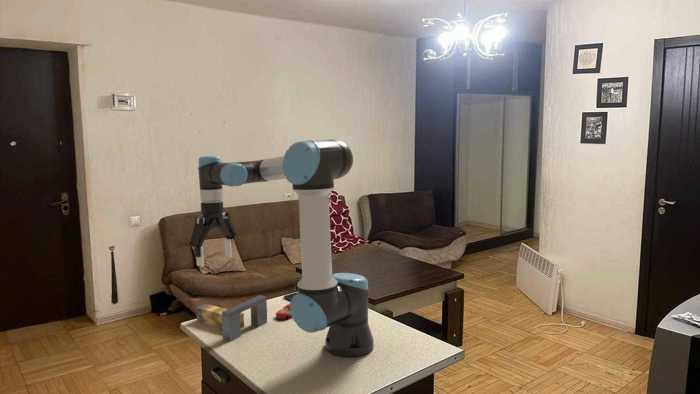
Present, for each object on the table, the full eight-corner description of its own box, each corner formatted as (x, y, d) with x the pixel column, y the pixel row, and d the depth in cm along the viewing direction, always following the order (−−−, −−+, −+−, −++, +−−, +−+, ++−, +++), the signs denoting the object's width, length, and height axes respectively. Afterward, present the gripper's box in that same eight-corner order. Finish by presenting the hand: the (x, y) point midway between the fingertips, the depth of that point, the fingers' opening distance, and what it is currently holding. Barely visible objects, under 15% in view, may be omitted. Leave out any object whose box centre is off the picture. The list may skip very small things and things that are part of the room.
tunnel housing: (267, 322, 183) (266, 296, 181) (229, 341, 167) (228, 313, 165) (260, 320, 184) (259, 295, 183) (223, 339, 168) (221, 311, 167)
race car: (282, 322, 183) (282, 311, 183) (272, 318, 187) (272, 308, 186) (309, 312, 193) (309, 301, 192) (299, 308, 197) (299, 298, 196)
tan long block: (244, 327, 179) (243, 313, 178) (234, 331, 175) (234, 317, 174) (206, 317, 188) (205, 303, 187) (196, 321, 184) (196, 307, 183)
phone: (297, 291, 213) (321, 300, 202) (297, 294, 213) (321, 303, 203) (282, 296, 208) (306, 305, 197) (282, 299, 208) (306, 308, 197)
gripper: (228, 196, 191) (231, 252, 194) (175, 205, 170) (179, 268, 172) (244, 197, 187) (247, 254, 190) (192, 206, 166) (196, 271, 169)
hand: (215, 261), depth 181 cm, fingers open, 13 cm apart
